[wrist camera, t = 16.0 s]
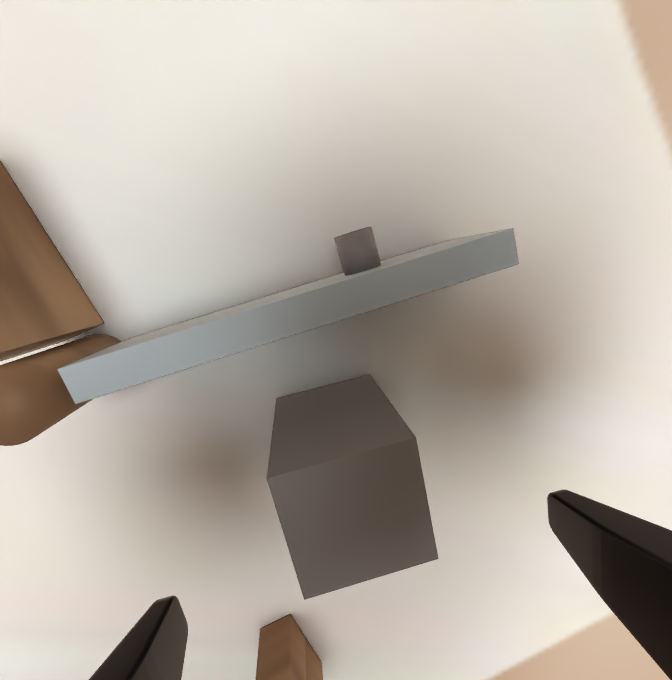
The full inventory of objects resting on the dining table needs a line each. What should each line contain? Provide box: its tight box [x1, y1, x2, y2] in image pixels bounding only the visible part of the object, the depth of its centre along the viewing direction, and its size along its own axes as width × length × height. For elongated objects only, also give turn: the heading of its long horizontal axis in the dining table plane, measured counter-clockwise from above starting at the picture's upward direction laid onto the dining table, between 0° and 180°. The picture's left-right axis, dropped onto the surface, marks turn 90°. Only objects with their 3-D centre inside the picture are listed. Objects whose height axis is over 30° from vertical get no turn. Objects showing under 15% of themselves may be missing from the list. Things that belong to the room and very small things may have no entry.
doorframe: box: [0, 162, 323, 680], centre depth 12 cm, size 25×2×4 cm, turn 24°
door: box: [57, 227, 519, 404], centre depth 11 cm, size 13×2×4 cm, turn 106°
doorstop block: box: [267, 374, 438, 600], centre depth 12 cm, size 4×4×6 cm
